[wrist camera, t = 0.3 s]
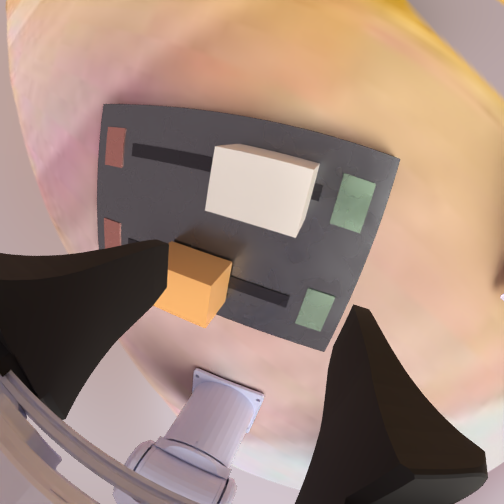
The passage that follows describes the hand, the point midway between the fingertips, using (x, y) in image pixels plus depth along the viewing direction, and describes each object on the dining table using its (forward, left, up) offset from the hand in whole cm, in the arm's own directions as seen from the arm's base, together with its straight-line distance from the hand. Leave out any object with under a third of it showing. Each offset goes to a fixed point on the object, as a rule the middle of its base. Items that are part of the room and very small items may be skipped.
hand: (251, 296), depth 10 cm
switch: (+3, +2, -8) cm, 9 cm away
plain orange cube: (-5, +6, -8) cm, 12 cm away
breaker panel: (-1, +6, -10) cm, 12 cm away
